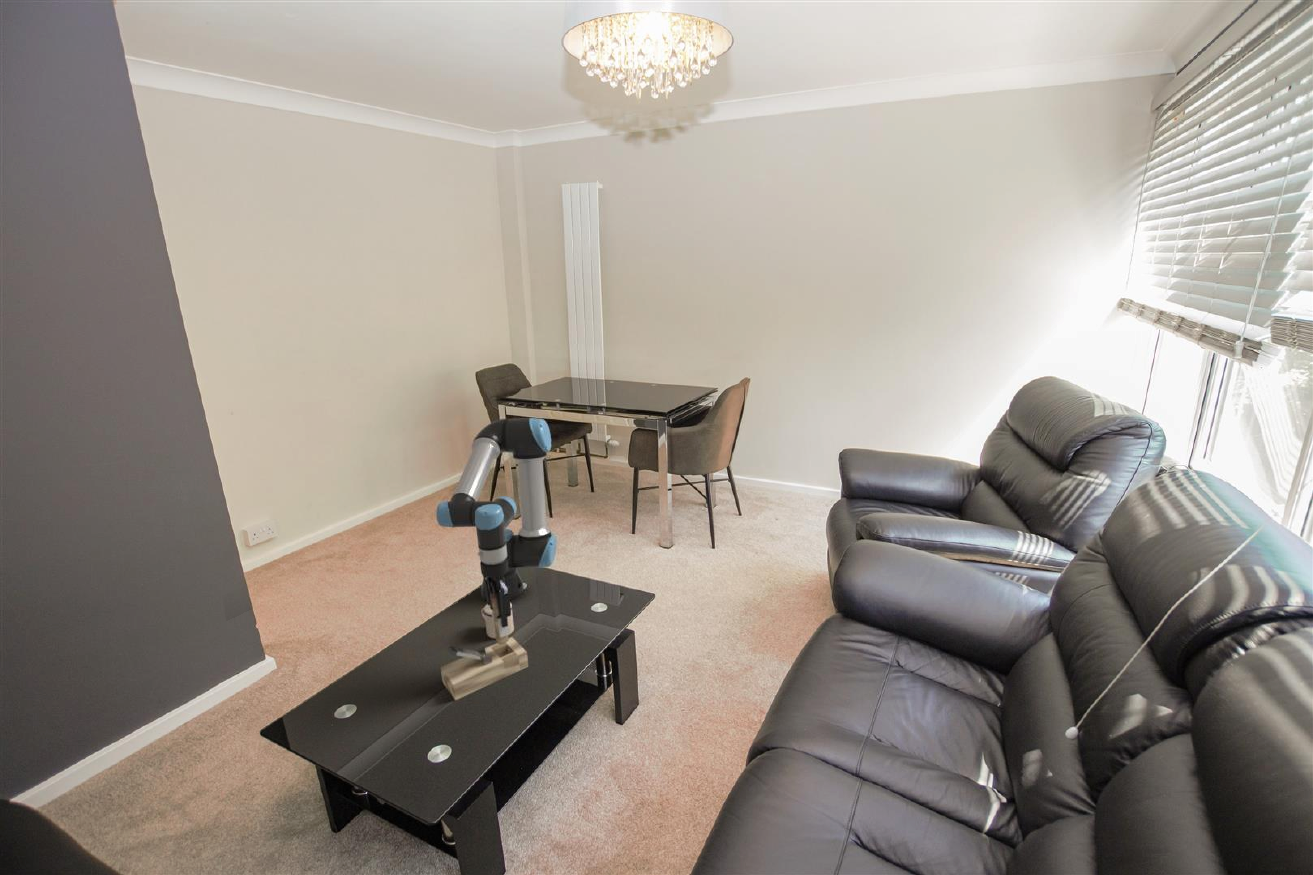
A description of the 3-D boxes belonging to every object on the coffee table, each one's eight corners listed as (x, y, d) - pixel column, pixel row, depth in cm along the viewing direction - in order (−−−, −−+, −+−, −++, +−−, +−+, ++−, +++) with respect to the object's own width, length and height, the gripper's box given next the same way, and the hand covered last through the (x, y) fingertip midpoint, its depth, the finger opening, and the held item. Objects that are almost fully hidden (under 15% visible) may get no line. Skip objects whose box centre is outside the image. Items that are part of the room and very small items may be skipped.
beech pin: (493, 639, 172) (488, 594, 168) (505, 634, 174) (501, 589, 171) (498, 646, 169) (493, 599, 165) (511, 640, 171) (507, 594, 168)
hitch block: (442, 682, 168) (439, 660, 166) (513, 651, 181) (511, 630, 179) (455, 700, 160) (452, 677, 158) (528, 666, 173) (526, 645, 171)
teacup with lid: (520, 627, 193) (517, 596, 190) (500, 642, 185) (497, 610, 182) (493, 618, 199) (490, 587, 196) (473, 632, 191) (469, 600, 188)
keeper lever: (447, 649, 163) (448, 645, 163) (482, 655, 170) (483, 652, 170) (451, 654, 160) (452, 650, 161) (486, 660, 168) (488, 657, 168)
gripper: (469, 553, 169) (478, 625, 175) (493, 573, 157) (501, 650, 162) (494, 545, 173) (501, 616, 179) (519, 564, 161) (526, 639, 167)
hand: (501, 632), depth 171 cm, fingers closed on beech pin, 3 cm apart
